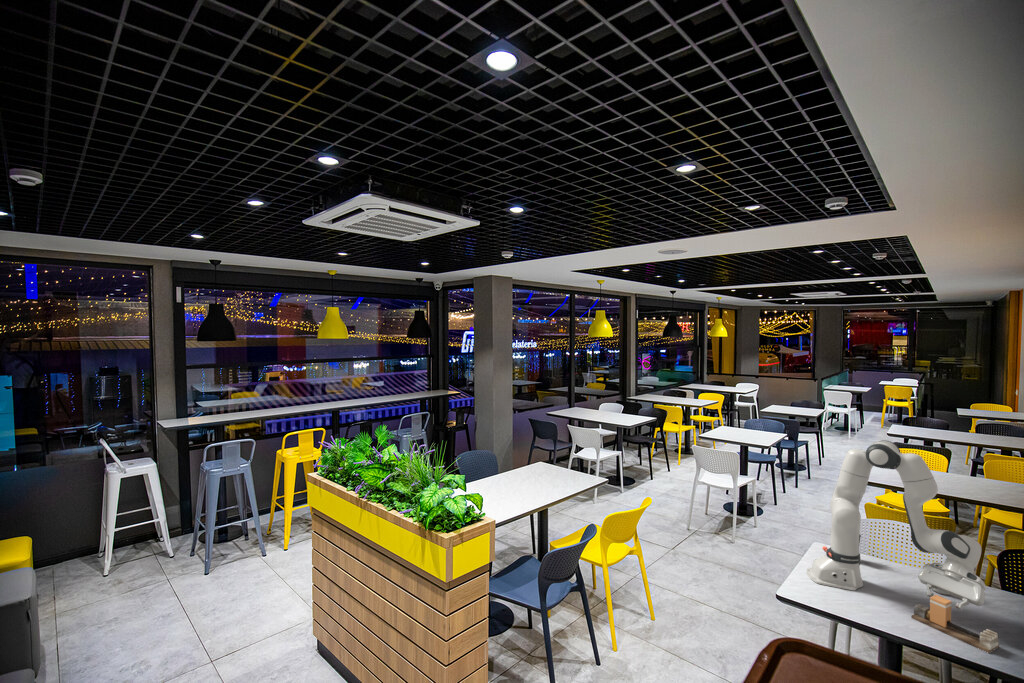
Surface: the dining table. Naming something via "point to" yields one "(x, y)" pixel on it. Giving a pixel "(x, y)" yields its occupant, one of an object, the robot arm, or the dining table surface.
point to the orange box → (940, 610)
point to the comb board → (958, 631)
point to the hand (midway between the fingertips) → (943, 602)
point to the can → (934, 588)
